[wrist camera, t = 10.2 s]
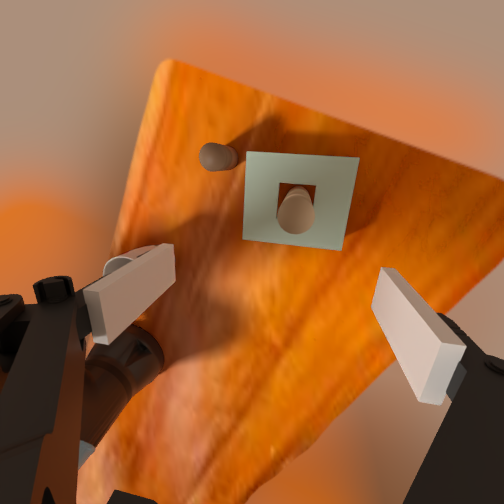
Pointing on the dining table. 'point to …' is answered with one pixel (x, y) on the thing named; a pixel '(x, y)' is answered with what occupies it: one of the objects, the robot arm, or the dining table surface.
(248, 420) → the dining table surface
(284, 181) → the bridge
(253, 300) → the dining table surface
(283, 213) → the long pin
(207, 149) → the short pin
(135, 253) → the cup
